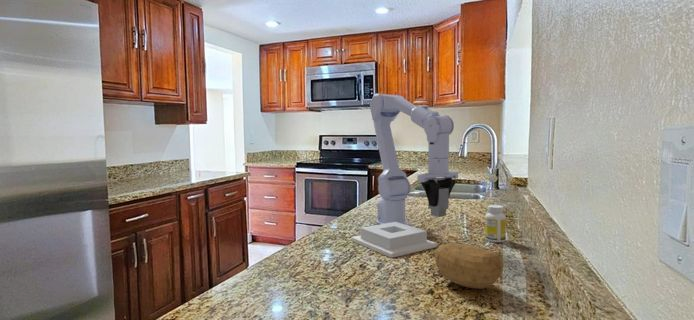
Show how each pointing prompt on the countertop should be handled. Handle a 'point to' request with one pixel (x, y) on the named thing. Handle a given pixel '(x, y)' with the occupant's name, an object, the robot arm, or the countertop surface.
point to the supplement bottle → (495, 224)
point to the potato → (468, 265)
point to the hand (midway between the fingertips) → (438, 205)
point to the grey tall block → (441, 203)
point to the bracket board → (396, 251)
